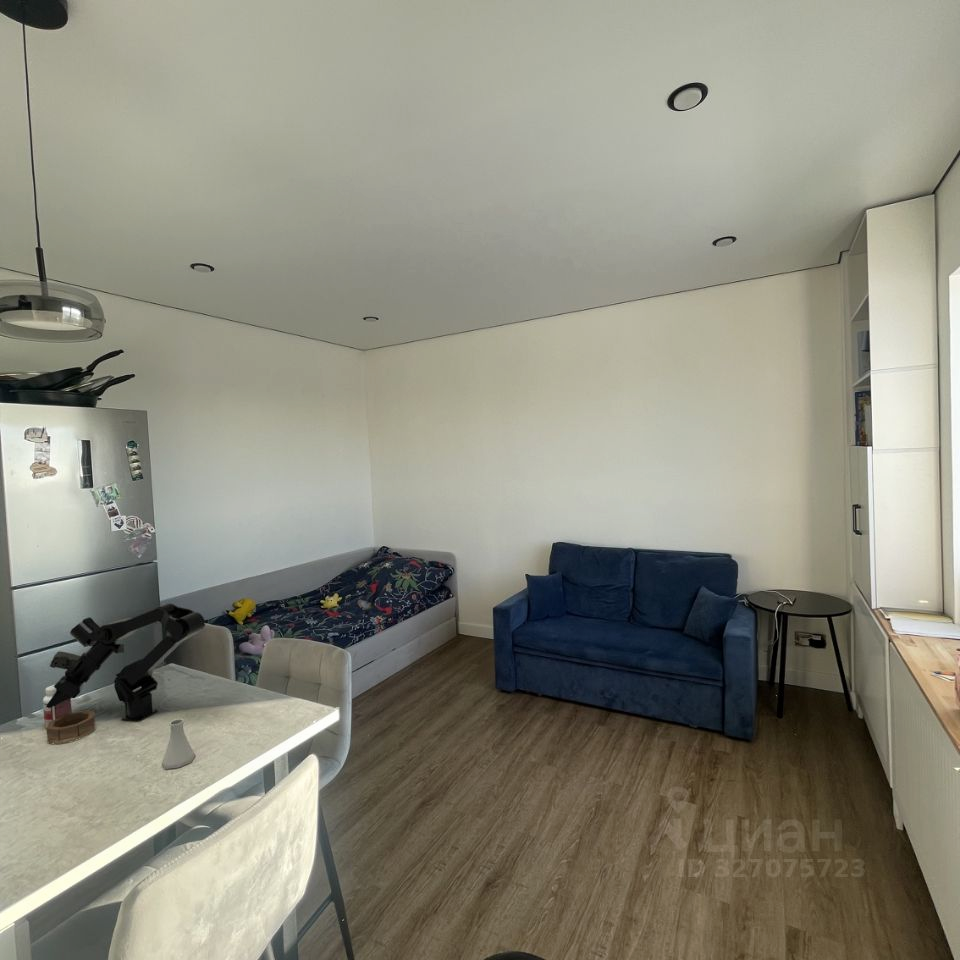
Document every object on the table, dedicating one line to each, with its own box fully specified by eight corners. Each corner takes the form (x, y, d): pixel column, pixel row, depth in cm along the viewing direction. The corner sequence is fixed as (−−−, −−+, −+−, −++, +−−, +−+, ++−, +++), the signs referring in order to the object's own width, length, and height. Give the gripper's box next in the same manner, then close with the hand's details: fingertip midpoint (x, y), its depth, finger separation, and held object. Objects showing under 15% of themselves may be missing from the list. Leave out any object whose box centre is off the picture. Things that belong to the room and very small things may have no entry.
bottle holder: (104, 726, 146) (104, 712, 146) (67, 746, 136) (67, 731, 136) (76, 723, 148) (75, 709, 148) (37, 742, 138) (36, 728, 138)
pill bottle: (75, 716, 152) (72, 680, 152) (69, 726, 147) (66, 688, 146) (48, 722, 150) (46, 684, 149) (41, 731, 144) (38, 693, 144)
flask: (160, 773, 122) (157, 732, 121) (162, 758, 128) (160, 719, 128) (195, 764, 125) (192, 723, 125) (195, 750, 131) (193, 711, 131)
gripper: (78, 632, 157) (34, 675, 153) (61, 651, 141) (12, 700, 136) (111, 652, 161) (69, 695, 157) (98, 673, 145) (51, 722, 140)
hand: (51, 702), depth 147 cm, fingers closed on pill bottle, 6 cm apart
